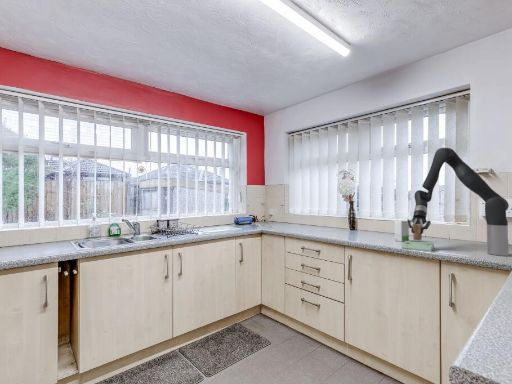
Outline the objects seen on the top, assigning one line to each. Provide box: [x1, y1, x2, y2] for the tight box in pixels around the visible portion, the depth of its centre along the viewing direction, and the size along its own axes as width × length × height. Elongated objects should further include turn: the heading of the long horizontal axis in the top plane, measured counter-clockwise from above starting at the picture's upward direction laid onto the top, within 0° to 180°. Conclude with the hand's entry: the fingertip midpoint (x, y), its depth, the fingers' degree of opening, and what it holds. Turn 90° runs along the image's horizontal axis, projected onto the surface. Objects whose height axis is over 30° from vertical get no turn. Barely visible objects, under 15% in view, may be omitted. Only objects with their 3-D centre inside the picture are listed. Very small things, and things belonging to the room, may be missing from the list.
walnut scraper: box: [412, 223, 423, 241], centre depth 177 cm, size 4×4×10 cm
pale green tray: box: [401, 240, 435, 253], centre depth 177 cm, size 16×14×3 cm
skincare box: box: [394, 219, 410, 243], centre depth 207 cm, size 8×7×16 cm
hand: (416, 232), depth 176 cm, fingers closed on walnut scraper, 4 cm apart
